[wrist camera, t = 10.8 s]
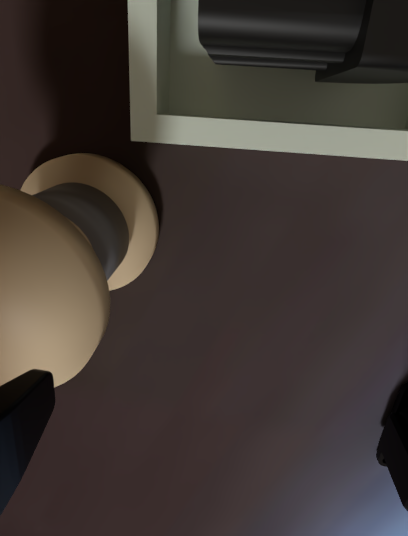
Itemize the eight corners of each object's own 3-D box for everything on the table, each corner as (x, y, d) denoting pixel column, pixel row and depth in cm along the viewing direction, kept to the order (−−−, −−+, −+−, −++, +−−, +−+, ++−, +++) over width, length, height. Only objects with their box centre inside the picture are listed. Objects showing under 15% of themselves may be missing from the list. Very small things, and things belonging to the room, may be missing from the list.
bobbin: (159, 158, 17) (91, 200, 9) (158, 289, 20) (105, 404, 12) (18, 147, 18) (-159, 179, 10) (37, 277, 20) (-89, 380, 13)
